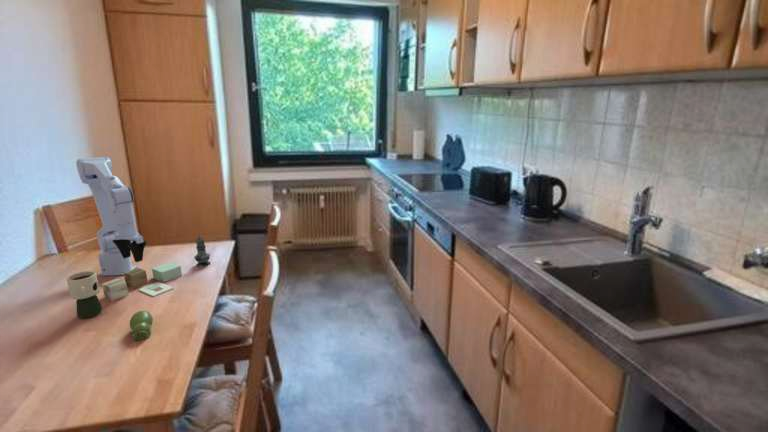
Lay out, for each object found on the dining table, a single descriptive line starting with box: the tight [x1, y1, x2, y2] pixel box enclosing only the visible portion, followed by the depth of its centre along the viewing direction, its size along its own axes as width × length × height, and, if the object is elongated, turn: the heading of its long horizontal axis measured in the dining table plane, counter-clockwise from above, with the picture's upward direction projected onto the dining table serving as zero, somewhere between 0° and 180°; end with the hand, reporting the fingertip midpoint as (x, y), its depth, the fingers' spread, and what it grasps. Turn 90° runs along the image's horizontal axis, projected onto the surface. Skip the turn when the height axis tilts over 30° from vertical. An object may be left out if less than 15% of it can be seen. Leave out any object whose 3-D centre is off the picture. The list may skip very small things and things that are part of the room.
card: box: [138, 281, 174, 298], centre depth 138 cm, size 9×7×1 cm
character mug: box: [66, 270, 103, 318], centre depth 120 cm, size 11×7×13 cm, turn 34°
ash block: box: [101, 278, 129, 302], centre depth 133 cm, size 5×5×5 cm
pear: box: [129, 310, 154, 341], centre depth 112 cm, size 6×5×10 cm
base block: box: [151, 261, 183, 283], centre depth 148 cm, size 7×7×4 cm
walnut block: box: [123, 267, 149, 289], centre depth 142 cm, size 5×5×5 cm
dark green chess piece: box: [193, 235, 211, 268], centre depth 158 cm, size 6×6×12 cm
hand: (132, 259), depth 140 cm, fingers open, 7 cm apart
